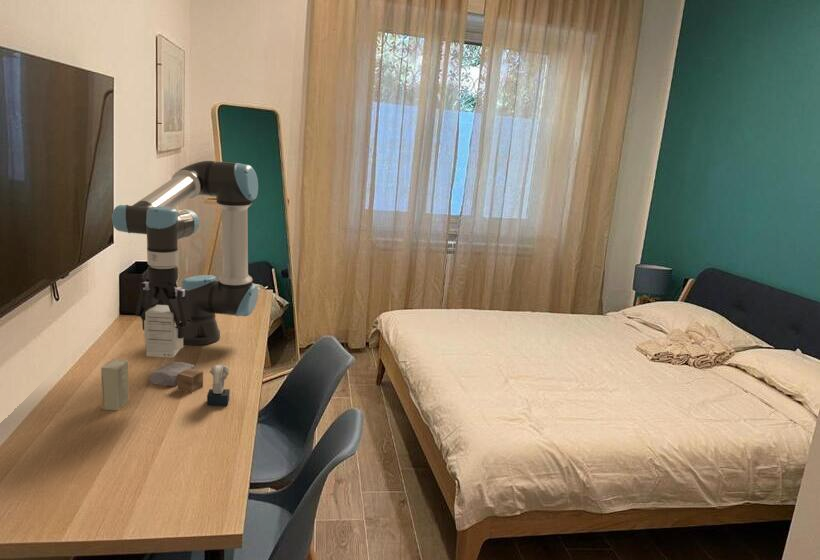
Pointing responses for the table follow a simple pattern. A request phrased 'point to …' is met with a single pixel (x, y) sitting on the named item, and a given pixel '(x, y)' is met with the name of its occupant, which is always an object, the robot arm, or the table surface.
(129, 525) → the table surface
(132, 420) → the table surface
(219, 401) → the watch
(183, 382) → the walnut cube
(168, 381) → the stone block
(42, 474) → the table surface
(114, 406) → the skincare box
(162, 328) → the supplement box
